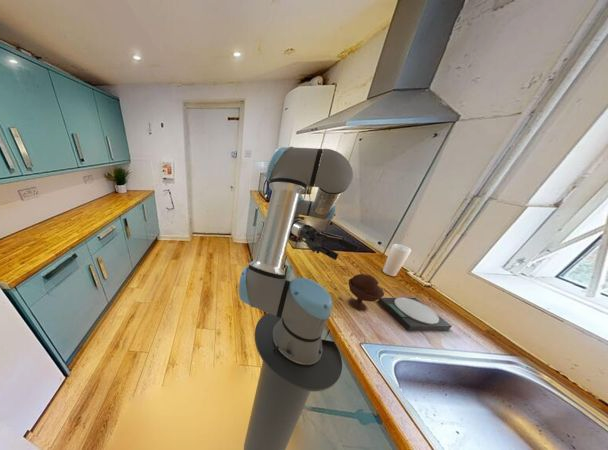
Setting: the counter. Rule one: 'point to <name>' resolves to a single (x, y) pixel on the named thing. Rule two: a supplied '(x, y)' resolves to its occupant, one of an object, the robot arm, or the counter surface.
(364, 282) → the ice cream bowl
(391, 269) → the drinking glass
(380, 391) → the counter surface
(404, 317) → the kitchen scale
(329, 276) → the counter surface
